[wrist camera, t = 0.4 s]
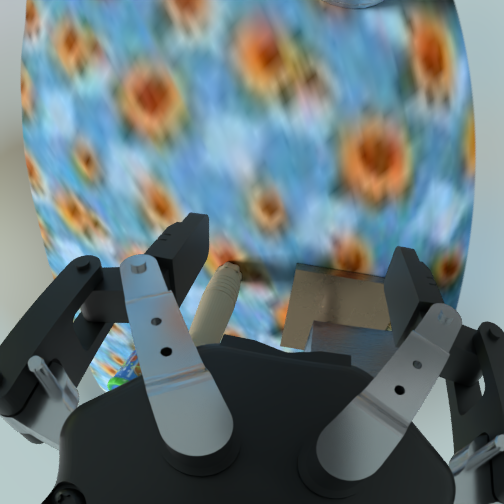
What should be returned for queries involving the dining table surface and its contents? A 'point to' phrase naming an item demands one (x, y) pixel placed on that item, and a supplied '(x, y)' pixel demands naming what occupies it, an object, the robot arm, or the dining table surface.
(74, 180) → the dining table surface
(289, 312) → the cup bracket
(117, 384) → the snack cup
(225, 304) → the handle
